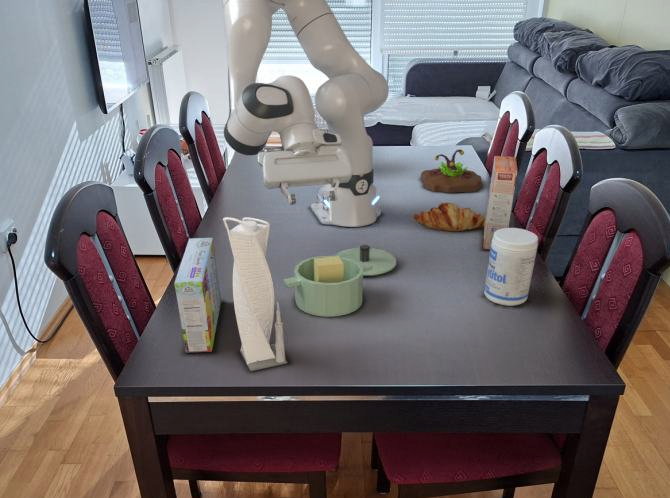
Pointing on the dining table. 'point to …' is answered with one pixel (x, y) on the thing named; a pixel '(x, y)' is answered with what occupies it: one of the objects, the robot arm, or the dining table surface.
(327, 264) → the butter
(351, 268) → the pot
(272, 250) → the dining table surface
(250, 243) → the skyscraper
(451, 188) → the plant
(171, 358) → the dining table surface
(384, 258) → the pot lid
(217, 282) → the snack box
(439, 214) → the croissant
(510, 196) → the cracker box
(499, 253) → the supplement tub
